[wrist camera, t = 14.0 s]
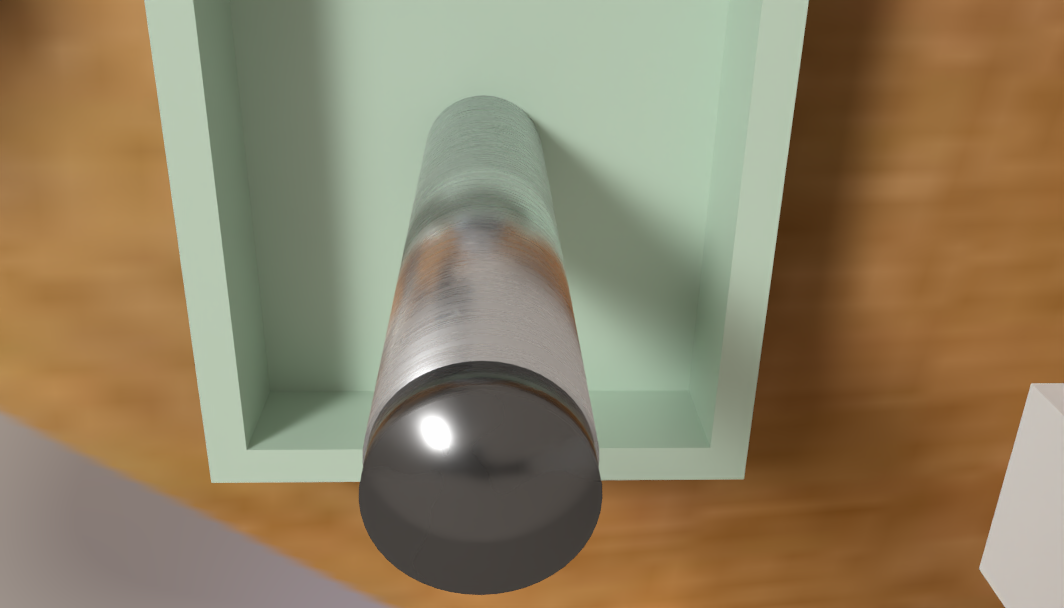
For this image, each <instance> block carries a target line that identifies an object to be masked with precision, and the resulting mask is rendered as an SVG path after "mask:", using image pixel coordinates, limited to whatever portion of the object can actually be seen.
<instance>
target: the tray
mask: <svg viewBox="0 0 1064 608" xmlns="http://www.w3.org/2000/svg"><path fill="white" fill-rule="evenodd" d="M144 1H145V8H146V15H147V23H148V30H149V37H150V44H151V51H152V59H153V66H154V73H155V80H156V87H157V95H158V102H159V109H160V116H161V123H162V131H163V138H164V145H165V152H166V159H167V166H168V174H169V181H170V188H171V195H172V202H173V210H174V217H175V224H176V231H177V238H178V246H179V253H180V260H181V267H182V274H183V281H184V289H185V296H186V303H187V310H188V317H189V325H190V332H191V339H192V346H193V353H194V361H195V368H196V375H197V382H198V389H199V396H200V404H201V411H202V418H203V425H204V432H205V440H206V447H207V454H208V461H209V468H210V476H211V483H238V482H360V480H361V474H362V469H363V463H362V460H363V445H364V439H365V434H366V429H367V424H368V419H369V415H370V410H371V405H372V400H373V395H374V391H375V386H376V381H377V376H378V371H379V367H380V362H381V357H382V352H383V347H384V342H385V338H386V333H387V328H388V323H389V318H390V314H391V309H392V304H393V299H394V294H395V290H396V285H397V280H398V275H399V270H400V266H401V261H402V256H403V251H404V246H405V242H406V237H407V232H408V227H409V222H410V218H411V213H412V208H413V203H414V198H415V194H416V189H417V184H418V179H419V174H420V170H421V165H422V160H423V155H424V150H425V146H426V141H427V137H428V134H429V131H430V129H431V127H432V125H433V123H434V121H435V120H436V118H437V117H438V116H439V115H440V114H441V113H442V112H443V111H444V110H445V109H446V108H447V107H449V106H450V105H452V104H453V103H455V102H457V101H459V100H461V99H464V98H468V97H472V96H481V95H486V96H495V97H499V98H502V99H505V100H508V101H510V102H512V103H514V104H515V105H517V106H518V107H520V108H521V109H522V110H523V111H524V112H525V113H526V114H527V115H528V116H529V117H530V118H531V120H532V121H533V123H534V124H535V126H536V128H537V130H538V132H539V136H540V139H541V144H542V149H543V154H544V159H545V165H546V170H547V175H548V180H549V186H550V191H551V196H552V201H553V207H554V212H555V217H556V223H557V228H558V233H559V238H560V244H561V249H562V254H563V259H564V265H565V270H566V275H567V281H568V286H569V291H570V296H571V302H572V307H573V312H574V317H575V323H576V328H577V333H578V338H579V344H580V349H581V354H582V360H583V365H584V370H585V375H586V381H587V386H588V391H589V396H590V402H591V407H592V412H593V417H594V423H595V428H596V433H597V439H598V445H599V472H600V477H601V480H710V479H744V475H745V467H746V460H747V453H748V445H749V438H750V430H751V423H752V416H753V408H754V401H755V394H756V386H757V379H758V371H759V364H760V357H761V349H762V342H763V335H764V327H765V320H766V312H767V305H768V298H769V290H770V283H771V276H772V268H773V261H774V253H775V246H776V239H777V231H778V224H779V217H780V209H781V202H782V195H783V187H784V180H785V172H786V165H787V158H788V150H789V143H790V136H791V128H792V121H793V113H794V106H795V99H796V91H797V84H798V77H799V69H800V62H801V54H802V47H803V40H804V32H805V25H806V18H807V10H808V3H809V0H144Z"/></svg>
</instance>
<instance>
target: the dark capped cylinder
mask: <svg viewBox="0 0 1064 608" xmlns="http://www.w3.org/2000/svg"><path fill="white" fill-rule="evenodd" d="M362 463H363V469H362V474H361V480H360V485H359V504H360V511H361V516H362V519H363V522H364V526H365V528H366V530H367V532H368V534H369V536H370V538H371V540H372V541H373V543H374V544H375V546H376V547H377V549H378V550H379V551H380V552H381V553H382V554H383V555H384V557H385V558H386V559H387V560H388V561H389V562H391V563H392V564H393V565H394V566H395V567H396V568H398V569H399V570H401V571H402V572H404V573H405V574H407V575H408V576H410V577H412V578H414V579H416V580H417V581H419V582H421V583H424V584H426V585H429V586H432V587H434V588H437V589H441V590H445V591H449V592H455V593H461V594H475V595H485V594H498V593H504V592H510V591H514V590H518V589H521V588H525V587H528V586H530V585H533V584H535V583H538V582H540V581H542V580H544V579H546V578H548V577H549V576H551V575H553V574H554V573H556V572H557V571H559V570H560V569H562V568H563V567H564V566H566V565H567V564H568V563H569V562H570V561H571V560H572V559H573V558H575V556H576V555H577V554H578V553H579V552H580V551H581V550H582V548H583V547H584V546H585V544H586V543H587V541H588V540H589V538H590V537H591V535H592V533H593V531H594V528H595V526H596V524H597V521H598V518H599V514H600V511H601V503H602V483H601V477H600V472H599V445H598V439H597V433H596V428H595V423H594V417H593V412H592V407H591V402H590V396H589V391H588V386H587V381H586V375H585V370H584V365H583V360H582V354H581V349H580V344H579V338H578V333H577V328H576V323H575V317H574V312H573V307H572V302H571V296H570V291H569V286H568V281H567V275H566V270H565V265H564V259H563V254H562V249H561V244H560V238H559V233H558V228H557V223H556V217H555V212H554V207H553V201H552V196H551V191H550V186H549V180H548V175H547V170H546V165H545V159H544V154H543V149H542V144H541V139H540V136H539V132H538V130H537V128H536V126H535V124H534V123H533V121H532V120H531V118H530V117H529V116H528V115H527V114H526V113H525V112H524V111H523V110H522V109H521V108H520V107H518V106H517V105H515V104H514V103H512V102H510V101H508V100H505V99H502V98H499V97H495V96H486V95H481V96H472V97H468V98H464V99H461V100H459V101H457V102H455V103H453V104H452V105H450V106H449V107H447V108H446V109H445V110H444V111H443V112H442V113H441V114H440V115H439V116H438V117H437V118H436V120H435V121H434V123H433V125H432V127H431V129H430V131H429V134H428V137H427V141H426V146H425V150H424V155H423V160H422V165H421V170H420V174H419V179H418V184H417V189H416V194H415V198H414V203H413V208H412V213H411V218H410V222H409V227H408V232H407V237H406V242H405V246H404V251H403V256H402V261H401V266H400V270H399V275H398V280H397V285H396V290H395V294H394V299H393V304H392V309H391V314H390V318H389V323H388V328H387V333H386V338H385V342H384V347H383V352H382V357H381V362H380V367H379V371H378V376H377V381H376V386H375V391H374V395H373V400H372V405H371V410H370V415H369V419H368V424H367V429H366V434H365V439H364V445H363V460H362Z"/></svg>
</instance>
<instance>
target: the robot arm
mask: <svg viewBox="0 0 1064 608" xmlns="http://www.w3.org/2000/svg"><path fill="white" fill-rule="evenodd" d="M979 570H980V571H981V572H982V574H983V575H984V577H985V578H986V580H987V581H988V583H989V584H990V586H991V587H992V589H993V590H994V592H995V593H996V595H997V596H998V598H999V599H1000V601H1001V602H1002V604H1003V605H1004V606H1005V608H1064V383H1031V386H1030V390H1029V393H1028V397H1027V400H1026V404H1025V408H1024V411H1023V415H1022V418H1021V422H1020V425H1019V429H1018V432H1017V436H1016V439H1015V443H1014V447H1013V450H1012V454H1011V457H1010V461H1009V464H1008V468H1007V471H1006V475H1005V478H1004V482H1003V486H1002V489H1001V493H1000V496H999V500H998V503H997V507H996V510H995V514H994V518H993V521H992V525H991V528H990V532H989V535H988V539H987V542H986V546H985V549H984V553H983V557H982V560H981V564H980V567H979Z"/></svg>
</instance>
